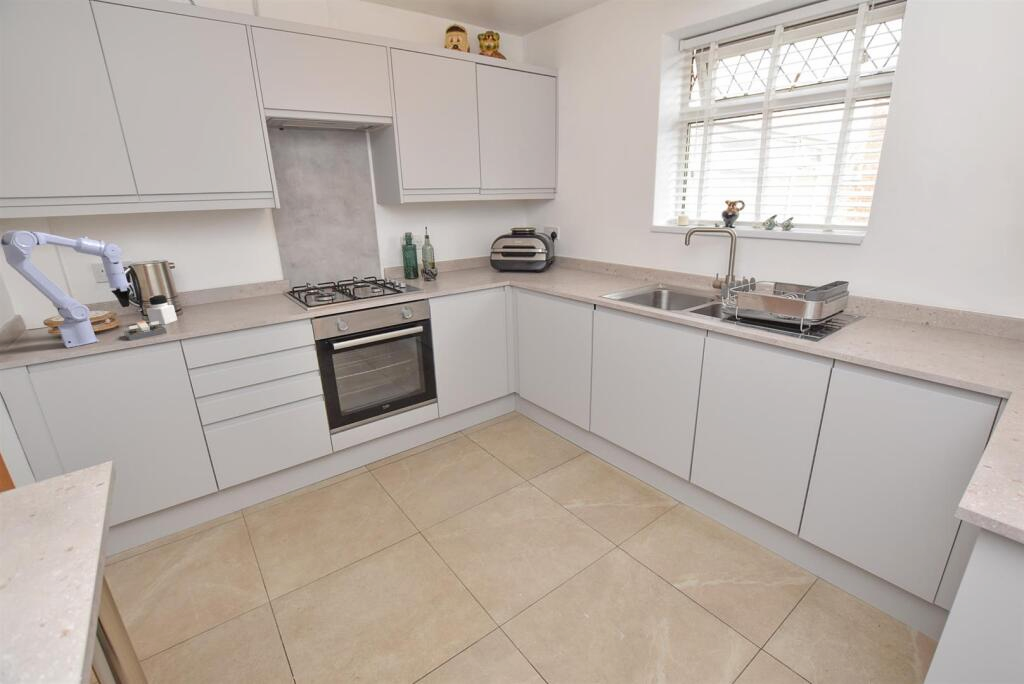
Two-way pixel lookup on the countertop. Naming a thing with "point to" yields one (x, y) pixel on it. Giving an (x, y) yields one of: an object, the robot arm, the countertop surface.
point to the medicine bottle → (161, 310)
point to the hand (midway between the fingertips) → (125, 306)
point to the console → (144, 332)
